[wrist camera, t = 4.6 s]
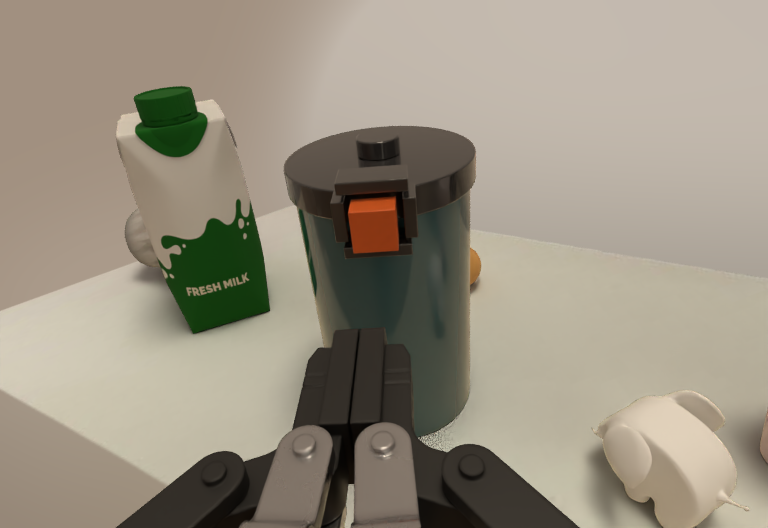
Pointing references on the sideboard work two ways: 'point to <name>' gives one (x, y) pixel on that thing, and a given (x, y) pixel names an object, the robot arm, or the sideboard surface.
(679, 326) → the sideboard surface
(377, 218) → the lid button
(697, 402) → the elephant figurine
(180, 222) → the milk carton
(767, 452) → the smoothie
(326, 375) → the robot arm
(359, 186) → the jug
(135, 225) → the cupcake
